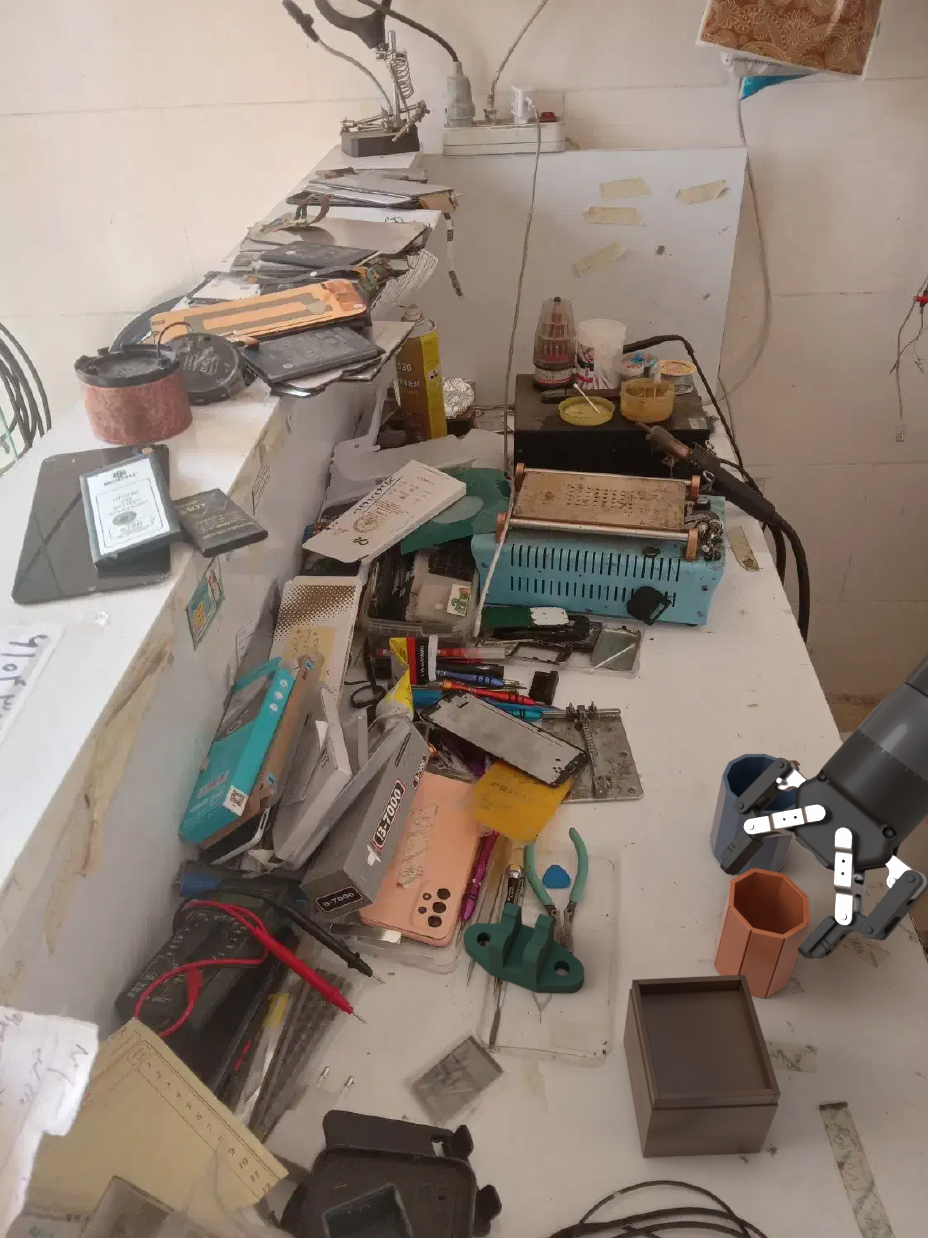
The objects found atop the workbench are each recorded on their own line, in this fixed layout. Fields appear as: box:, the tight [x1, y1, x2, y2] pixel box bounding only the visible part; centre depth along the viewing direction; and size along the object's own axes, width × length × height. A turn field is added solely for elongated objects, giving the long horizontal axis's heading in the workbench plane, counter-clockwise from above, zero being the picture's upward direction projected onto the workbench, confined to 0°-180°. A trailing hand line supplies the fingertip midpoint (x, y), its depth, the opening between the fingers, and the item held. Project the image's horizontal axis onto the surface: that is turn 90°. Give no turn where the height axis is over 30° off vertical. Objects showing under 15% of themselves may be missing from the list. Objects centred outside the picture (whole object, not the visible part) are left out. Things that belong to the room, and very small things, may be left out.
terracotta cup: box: [713, 868, 810, 999], centre depth 68 cm, size 6×6×9 cm
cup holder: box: [623, 975, 781, 1158], centre depth 60 cm, size 8×8×10 cm
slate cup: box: [709, 753, 798, 876], centre depth 77 cm, size 7×7×10 cm
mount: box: [463, 901, 585, 994], centre depth 70 cm, size 11×4×5 cm, turn 66°
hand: (764, 911), depth 65 cm, fingers open, 8 cm apart
